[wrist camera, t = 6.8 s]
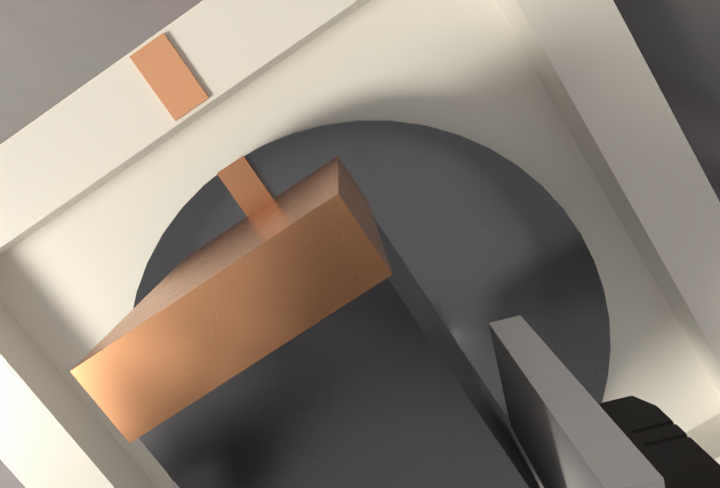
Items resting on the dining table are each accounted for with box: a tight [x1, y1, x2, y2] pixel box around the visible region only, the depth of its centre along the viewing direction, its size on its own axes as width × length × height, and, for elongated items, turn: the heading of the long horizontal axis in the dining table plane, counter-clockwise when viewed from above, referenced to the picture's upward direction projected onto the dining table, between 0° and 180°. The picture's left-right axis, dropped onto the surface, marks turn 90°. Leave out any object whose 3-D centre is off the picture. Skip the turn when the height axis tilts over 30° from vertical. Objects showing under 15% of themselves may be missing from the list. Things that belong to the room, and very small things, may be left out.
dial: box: [70, 120, 611, 488], centre depth 14 cm, size 13×13×9 cm
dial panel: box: [0, 0, 720, 488], centre depth 18 cm, size 20×20×3 cm
